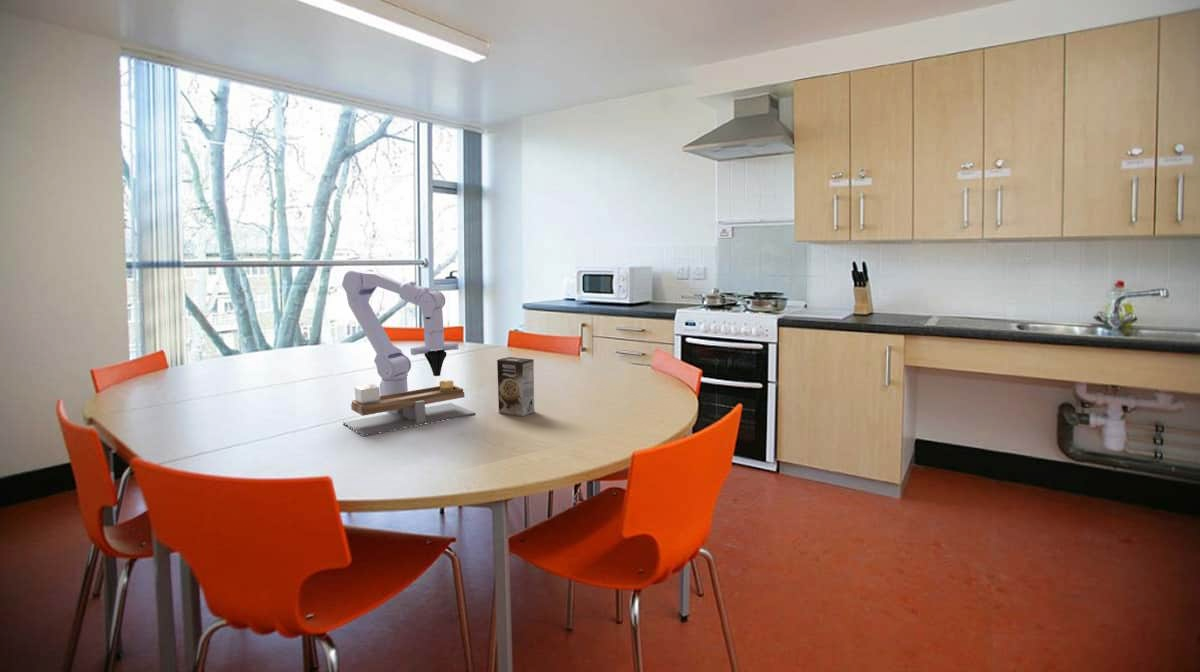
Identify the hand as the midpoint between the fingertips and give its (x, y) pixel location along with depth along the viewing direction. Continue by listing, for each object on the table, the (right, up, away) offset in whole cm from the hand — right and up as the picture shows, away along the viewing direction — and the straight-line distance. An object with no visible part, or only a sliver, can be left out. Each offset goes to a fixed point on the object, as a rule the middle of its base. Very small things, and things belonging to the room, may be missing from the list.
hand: (436, 375), depth 194 cm
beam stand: (-5, -12, -10) cm, 16 cm away
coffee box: (+25, -11, -4) cm, 27 cm away
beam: (-5, -7, -11) cm, 14 cm away
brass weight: (+4, -5, -4) cm, 7 cm away
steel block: (-14, -7, -18) cm, 24 cm away
